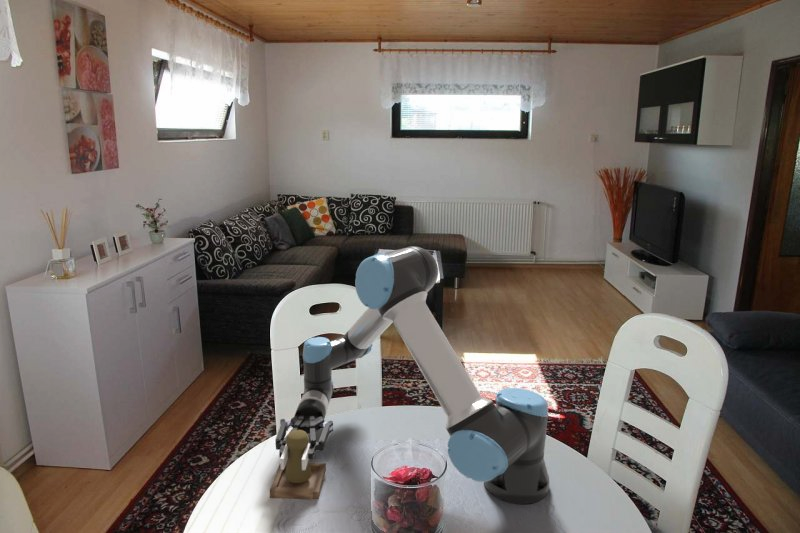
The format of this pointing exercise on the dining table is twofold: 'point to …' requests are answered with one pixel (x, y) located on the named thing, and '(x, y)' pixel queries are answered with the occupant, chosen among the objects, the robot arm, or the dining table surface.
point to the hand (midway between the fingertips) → (292, 464)
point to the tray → (299, 484)
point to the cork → (297, 457)
